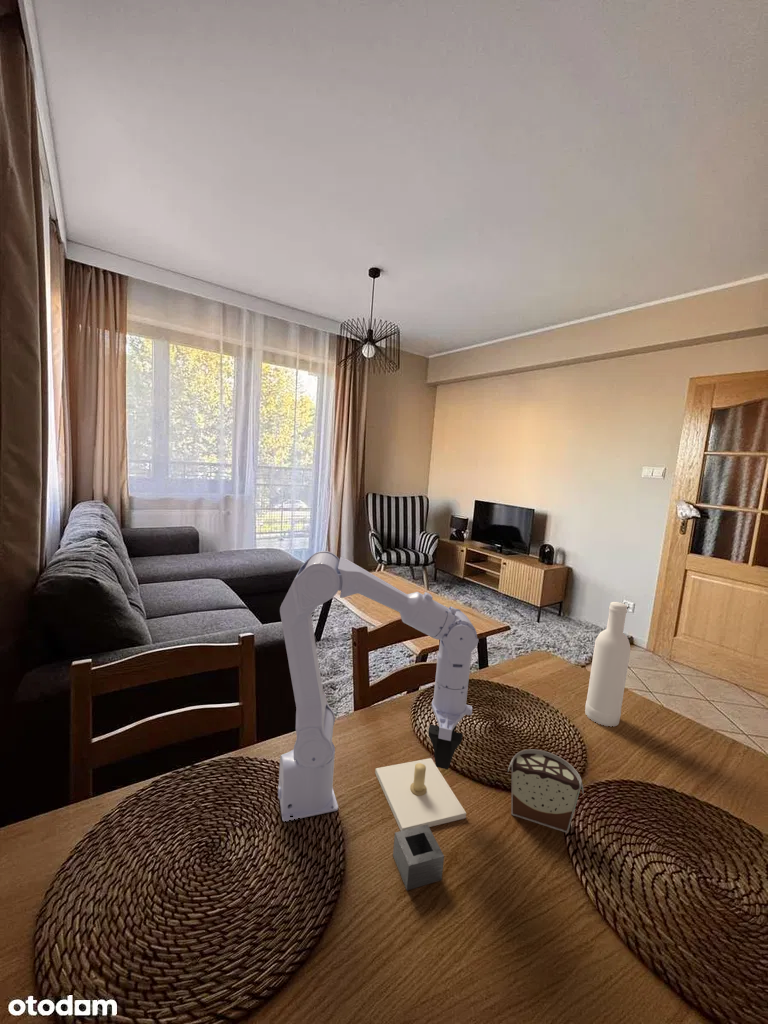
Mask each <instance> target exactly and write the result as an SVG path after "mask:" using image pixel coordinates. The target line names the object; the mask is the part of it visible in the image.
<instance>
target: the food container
mask: <svg viewBox="0 0 768 1024" xmlns="http://www.w3.org/2000/svg"><path fill="white" fill-rule="evenodd" d="M510 769H511V782H510V783H511V785H510V787H511V790H510V791H511V793H510V794H511V799H510V801H511V804H510V805H511V807H510V808H511V809H510V810H511V811H510V813H511V814H510V815H512V816H514V817H517V818H519V819H524V820H526V821H530V822H532V823H535V824H539V825H541V826H545V827H547V828H551V829H554V830H556V831H560V832H563V833H566V834H569V831H570V827H571V824H572V820H573V817H574V814H575V810H576V806H577V802H578V799H579V795H580V792H582V794H583V795H584V792H585V791H584V790H585V789H584V785H583V781H582V777H581V775H580V774H579V772H578V770H576V769H575V768H574V766H573V765H572V764H570V763H569V762H568V761H567V760H565V759H563V758H562V757H561V756H558V755H556V754H554V753H552V752H548V751H546V750H540V749H536V748H535V749H533V748H532V749H531V748H530V749H528V748H527V749H523V750H520V751H519V752H517V753H515V755H514V756H513V757H512V758H511V761H510V763H509V766H508V769H507V772H509V771H510Z"/></svg>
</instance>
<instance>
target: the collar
mask: <svg viewBox="0 0 768 1024" xmlns="http://www.w3.org/2000/svg"><path fill="white" fill-rule="evenodd" d="M393 840H394V841H393V849H392V851H393V852H392V857H393V859H394V861H395V865H396V867H397V869H398V872H399V875H400V877H401V880H402V882H403V885H404V888H405V889H406V891H411V890H413V889H417V888H420V887H423V886H426V885H430V884H434V883H437V882H440V881H442V879H443V870H444V869H443V868H444V861H445V855H444V853H443V851H442V849H441V846H440V845H439V844H438V840H436V838H435V835H434V834H433V832H432V830H431V828H430V827H429V826H428V825H424V826H419V827H415V828H411V829H407V830H403V831H400V830H399V831H396V832H394V837H393Z"/></svg>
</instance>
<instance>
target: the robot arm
mask: <svg viewBox="0 0 768 1024" xmlns="http://www.w3.org/2000/svg"><path fill="white" fill-rule="evenodd" d="M339 557H340V558H339ZM339 557H338V556H337V555H336V554H335V553H334V552H331V551H327V550H320V551H316V552H314V554H312V555H311V556H310V557H309V558H308V559H307V560H305V562H304V563H303V564H302V565H301V566H300V567H299V570H298V572H297V573H296V575H295V577H294V579H293V581H292V583H291V585H290V587H289V589H288V591H287V593H286V594H285V597H284V599H283V601H282V602H281V605H280V607H279V615H280V619H281V627H282V633H283V637H284V644H285V649H286V654H287V655H286V656H287V660H288V668H289V673H290V678H291V685H292V690H293V696H294V702H295V707H296V708H295V709H296V711H295V733H296V740H295V742H294V745H293V749H291V750H290V751H287V752H286V753H283V754H281V755H280V756H279V769H278V770H279V772H278V773H279V774H278V786H277V797H278V798H277V799H278V800H279V805H280V812H281V821H282V822H285V821H286V822H290V821H289V820H291V821H295V820H299V819H298V818H300V819H303V818H308V817H313V816H319V815H322V814H327V813H333V812H337V811H338V810H339V804H338V801H337V797H336V795H335V791H334V787H333V783H334V772H335V771H334V769H335V754H336V746H335V745H334V743H333V734H334V726H335V721H336V715H335V713H334V710H333V709H332V707H331V706H330V705H329V703H328V699H327V696H326V694H325V693H324V688H323V682H322V675H321V669H320V663H319V657H318V652H317V651H318V650H317V644H316V637H315V632H314V625H313V620H312V613H313V612H314V611H315V610H316V609H317V608H318V607H319V606H321V605H323V604H325V603H326V602H328V601H330V600H331V599H332V598H334V597H335V596H336V594H337V593H338V592H340V594H339V598H341V599H343V598H347V597H350V596H353V595H361V596H363V597H365V598H368V599H370V600H372V601H374V602H376V603H379V604H381V605H382V606H385V607H387V608H389V609H391V610H394V611H395V612H398V613H399V616H400V618H401V622H402V623H403V624H404V625H405V624H406V625H408V626H409V627H412V628H413V629H415V630H417V631H419V632H421V633H423V634H424V635H427V636H429V637H431V638H432V639H434V640H438V641H439V644H438V645H439V646H438V653H437V659H436V670H435V671H436V672H435V682H434V689H433V690H434V691H433V699H432V701H431V709H432V711H433V714H434V716H435V720H436V723H437V724H438V725H436V724H431V723H430V724H429V728H428V730H427V731H428V733H427V734H428V736H429V737H428V738H429V739H430V742H431V744H432V748H433V754H434V763H435V765H436V767H437V768H438V769H439V768H440V769H443V770H449V768H450V766H451V763H452V761H453V756H454V754H455V751H456V750H457V748H458V747H459V746H460V745H461V743H462V741H463V734H464V733H462V732H457V731H456V728H457V725H458V724H459V723H460V721H461V720H462V719H463V718H464V717H465V716H472V714H473V706H472V705H469V704H467V700H468V699H467V698H468V689H469V682H470V681H469V679H470V672H471V671H470V670H471V665H472V664H471V661H472V658H471V657H472V652H473V651H474V650H475V649H476V648H477V646H478V643H479V638H478V634H477V630H476V628H475V626H474V625H473V623H472V621H471V620H470V619H469V617H468V616H467V614H465V613H464V612H463V611H461V609H459V608H455V607H454V606H449V607H448V606H446V605H444V604H442V603H440V602H438V601H437V600H434V598H433V595H432V594H431V593H429V592H427V591H425V592H424V593H420V592H419V591H415V592H411V593H406V592H404V591H402V590H400V589H399V588H397V587H396V586H393V585H392V584H391V583H388V582H387V581H385V580H383V579H382V578H380V577H379V576H377V575H375V574H374V573H371V572H370V571H368V570H366V569H364V567H362V566H359V565H357V564H356V563H354V562H352V561H351V560H349V559H347V558H345V557H341V556H339ZM290 816H293V817H290ZM294 819H295V820H294Z"/></svg>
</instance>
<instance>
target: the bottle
mask: <svg viewBox="0 0 768 1024" xmlns="http://www.w3.org/2000/svg"><path fill="white" fill-rule="evenodd" d="M609 604H610V605H609V607H608V609H609V610H608V617H607V624H606V628H605V629H604V630H601V631H600V632H599V633H598V635H597V637H596V638H595V640H594V641H595V642H594V648H593V655H592V660H591V661H592V662H591V668H590V674H589V675H590V676H589V682H588V689H587V696H586V701H585V706H584V713H585V716H586V715H587V716H586V717H587V718H588V719H589V720H590V719H591V720H590V721H592V722H593V721H594V723H595V722H596V723H595V724H597V723H598V724H597V725H600V724H601V725H600V726H603V725H604V727H608V726H610V727H609V728H611V727H612V726H613V727H616V726H618V725H619V723H620V720H621V714H622V707H623V701H624V695H625V694H624V692H625V687H626V680H627V675H628V669H629V668H628V667H629V661H630V656H631V649H632V648H631V645H630V644H631V643H630V639H629V638H628V637H627V636H626V634H625V633H624V628H625V624H626V623H625V622H626V617H627V613H628V610H627V609H628V606H627V605H626V604H625V603H623V602H620V601H611V602H610V603H609Z"/></svg>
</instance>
